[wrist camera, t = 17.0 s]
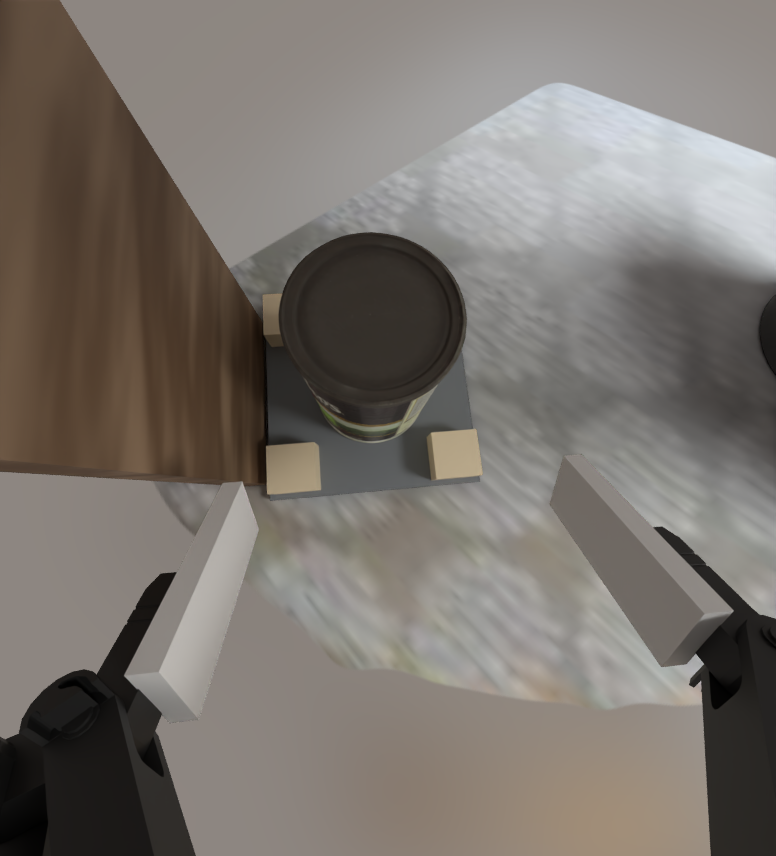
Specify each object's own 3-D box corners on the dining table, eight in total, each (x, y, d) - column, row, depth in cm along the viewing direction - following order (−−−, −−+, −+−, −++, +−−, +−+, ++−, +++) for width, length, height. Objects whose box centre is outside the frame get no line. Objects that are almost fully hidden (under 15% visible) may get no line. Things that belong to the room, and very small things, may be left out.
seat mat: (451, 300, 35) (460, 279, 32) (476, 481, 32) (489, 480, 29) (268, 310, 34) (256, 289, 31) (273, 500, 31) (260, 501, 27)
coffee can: (344, 462, 31) (323, 437, 17) (300, 365, 32) (248, 268, 18) (444, 416, 32) (500, 358, 18) (397, 325, 34) (417, 207, 20)
